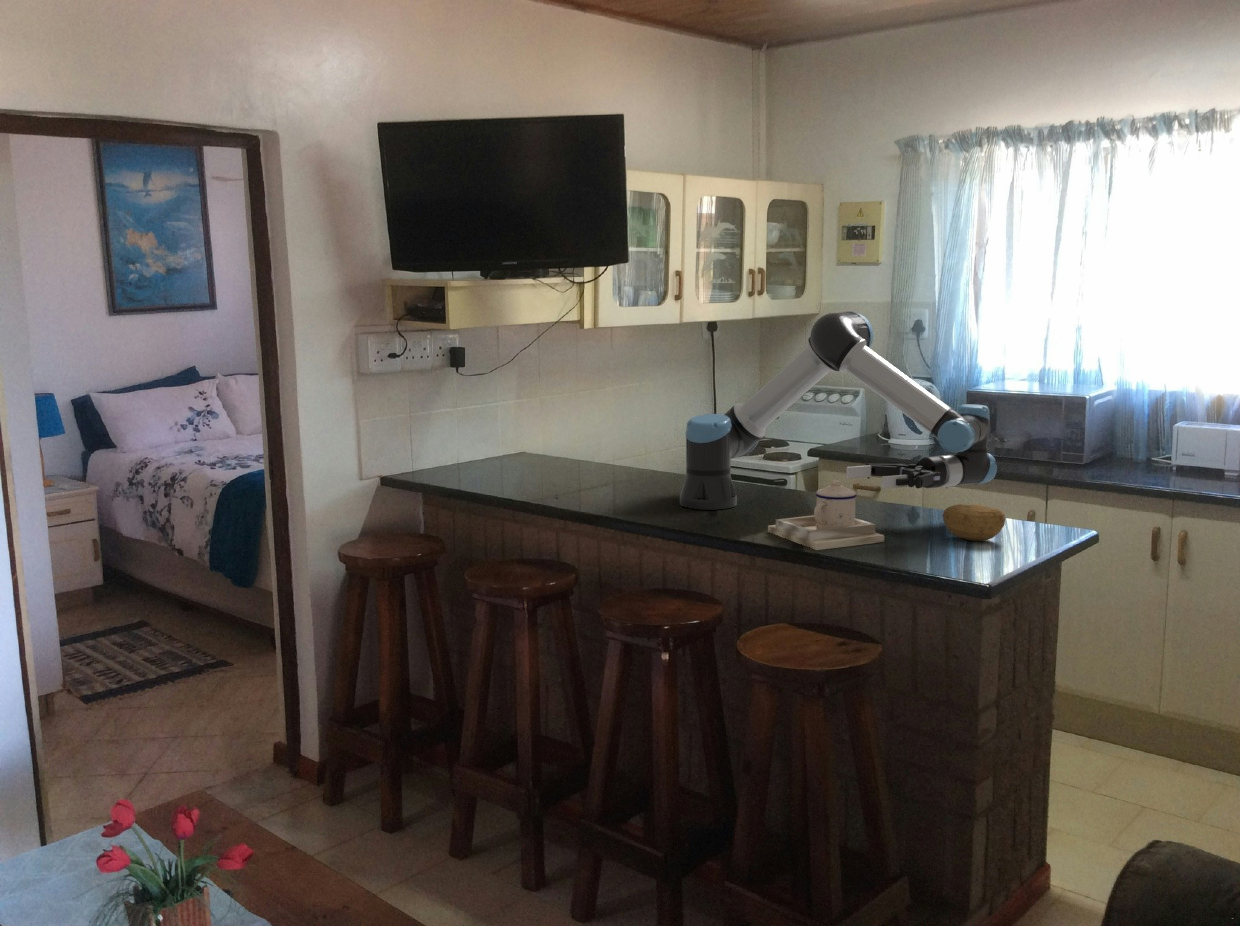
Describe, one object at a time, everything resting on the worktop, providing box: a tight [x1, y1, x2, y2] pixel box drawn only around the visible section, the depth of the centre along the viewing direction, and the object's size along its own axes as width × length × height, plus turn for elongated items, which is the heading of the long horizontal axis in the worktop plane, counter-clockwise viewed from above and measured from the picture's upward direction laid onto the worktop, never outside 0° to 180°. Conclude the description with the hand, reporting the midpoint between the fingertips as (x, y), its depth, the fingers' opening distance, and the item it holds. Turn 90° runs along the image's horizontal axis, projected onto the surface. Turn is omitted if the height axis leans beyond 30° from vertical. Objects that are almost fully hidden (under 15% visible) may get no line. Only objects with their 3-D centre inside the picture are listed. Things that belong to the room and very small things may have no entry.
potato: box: [942, 503, 1006, 542], centre depth 243 cm, size 10×14×8 cm
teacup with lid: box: [813, 479, 857, 530], centre depth 245 cm, size 12×9×12 cm
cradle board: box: [767, 514, 885, 551], centre depth 248 cm, size 20×18×4 cm
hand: (864, 477), depth 251 cm, fingers open, 13 cm apart
